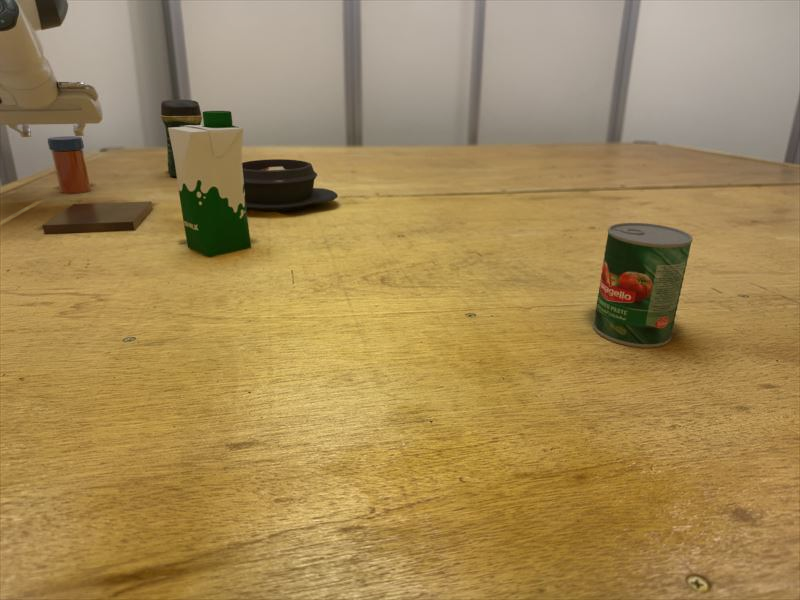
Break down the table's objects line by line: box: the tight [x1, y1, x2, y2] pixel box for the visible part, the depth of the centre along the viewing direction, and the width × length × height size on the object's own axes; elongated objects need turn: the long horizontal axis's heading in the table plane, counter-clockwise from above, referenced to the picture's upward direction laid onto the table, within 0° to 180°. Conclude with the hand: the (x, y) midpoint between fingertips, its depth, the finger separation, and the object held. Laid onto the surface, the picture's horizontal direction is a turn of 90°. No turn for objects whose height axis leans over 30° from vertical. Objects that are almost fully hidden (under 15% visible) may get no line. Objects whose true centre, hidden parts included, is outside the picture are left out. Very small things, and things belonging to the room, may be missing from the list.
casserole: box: [242, 158, 339, 213], centre depth 110 cm, size 25×19×8 cm
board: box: [41, 200, 153, 235], centre depth 100 cm, size 14×16×2 cm
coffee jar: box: [160, 99, 203, 178], centre depth 140 cm, size 10×8×19 cm
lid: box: [47, 135, 85, 151], centre depth 120 cm, size 6×6×2 cm
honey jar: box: [51, 148, 92, 195], centre depth 122 cm, size 6×6×11 cm
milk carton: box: [168, 110, 252, 258], centre depth 82 cm, size 9×9×20 cm
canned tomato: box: [592, 222, 694, 349], centre depth 57 cm, size 8×8×11 cm
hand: (53, 133), depth 111 cm, fingers open, 8 cm apart
